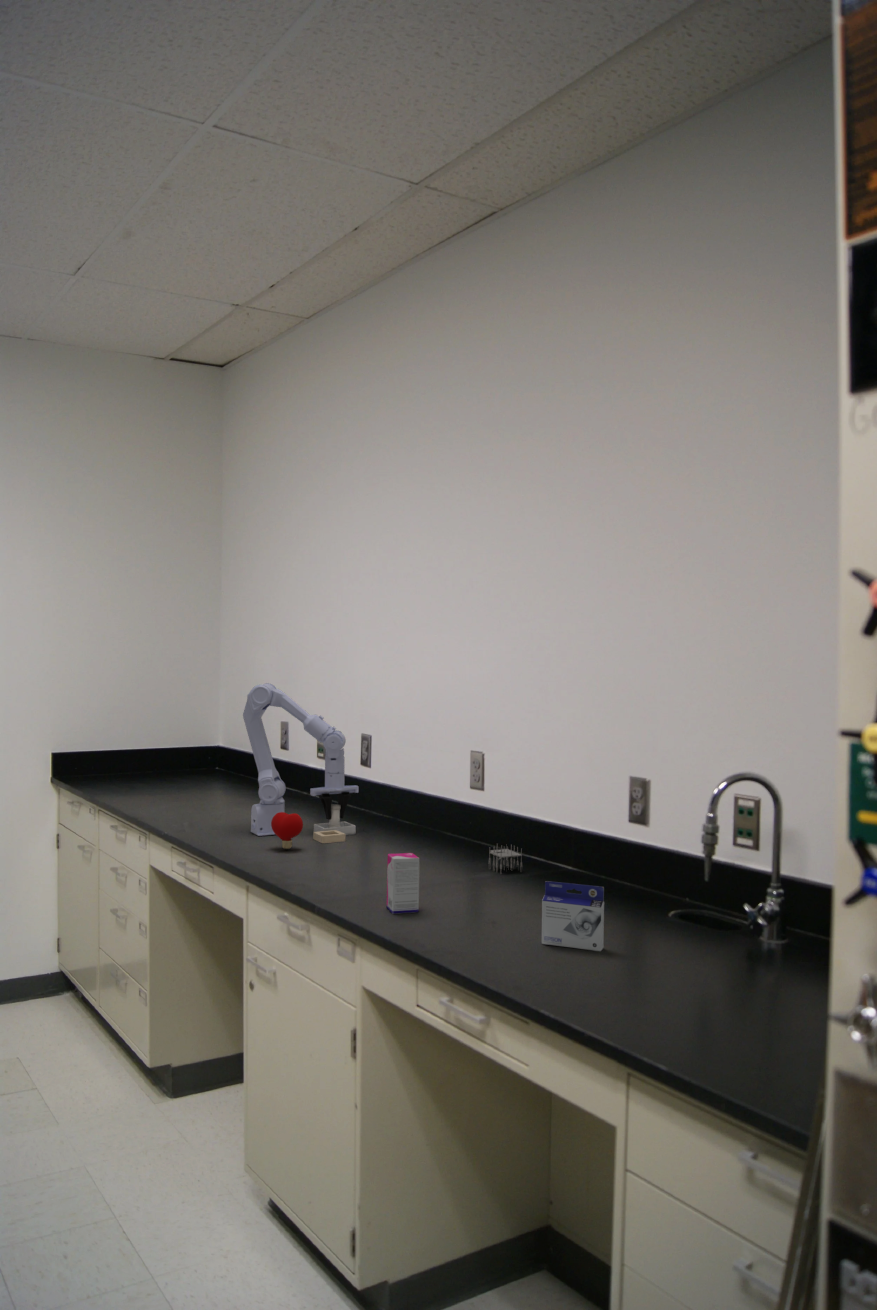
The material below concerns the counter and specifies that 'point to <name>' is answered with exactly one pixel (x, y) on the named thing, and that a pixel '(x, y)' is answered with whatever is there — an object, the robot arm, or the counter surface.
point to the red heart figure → (286, 827)
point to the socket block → (329, 836)
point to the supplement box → (403, 883)
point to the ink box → (573, 916)
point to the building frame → (502, 854)
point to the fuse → (335, 816)
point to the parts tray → (336, 828)
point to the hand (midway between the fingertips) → (334, 818)
